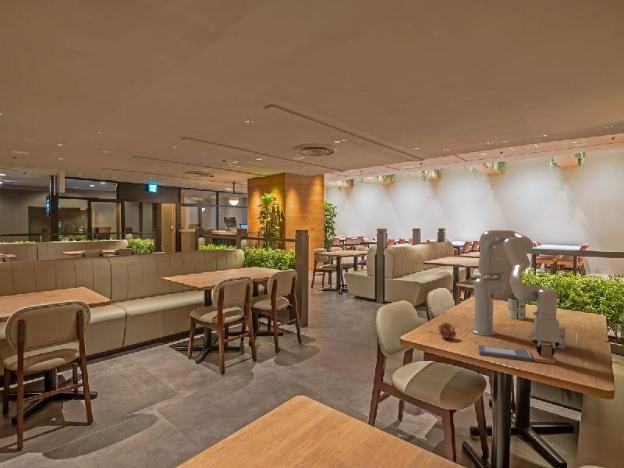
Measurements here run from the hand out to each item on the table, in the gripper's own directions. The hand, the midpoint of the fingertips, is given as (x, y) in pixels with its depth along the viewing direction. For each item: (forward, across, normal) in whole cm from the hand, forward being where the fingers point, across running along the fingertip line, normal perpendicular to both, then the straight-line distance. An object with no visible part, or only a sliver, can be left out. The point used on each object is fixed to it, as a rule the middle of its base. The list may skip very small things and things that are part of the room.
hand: (545, 354), depth 165 cm
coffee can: (+3, -2, +75) cm, 75 cm away
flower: (+3, -43, +14) cm, 45 cm away
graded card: (+3, +18, +45) cm, 49 cm away
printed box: (+3, +9, +22) cm, 24 cm away
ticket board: (+2, -17, 0) cm, 17 cm away
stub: (+2, -1, 0) cm, 3 cm away
